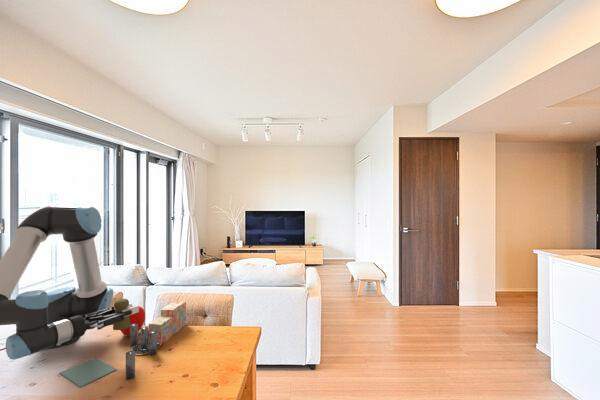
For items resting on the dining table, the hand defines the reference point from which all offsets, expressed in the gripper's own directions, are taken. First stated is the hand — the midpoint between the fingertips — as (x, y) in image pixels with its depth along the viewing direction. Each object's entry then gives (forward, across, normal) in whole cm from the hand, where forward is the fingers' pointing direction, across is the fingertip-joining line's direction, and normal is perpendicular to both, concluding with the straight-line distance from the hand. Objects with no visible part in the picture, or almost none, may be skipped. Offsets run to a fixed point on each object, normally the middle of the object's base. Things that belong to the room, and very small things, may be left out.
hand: (134, 307), depth 122 cm
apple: (+9, -18, -20) cm, 28 cm away
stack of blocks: (+18, -4, -20) cm, 27 cm away
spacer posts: (-3, +4, -19) cm, 20 cm away
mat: (-16, -2, -19) cm, 25 cm away
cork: (-5, 0, -6) cm, 8 cm away
